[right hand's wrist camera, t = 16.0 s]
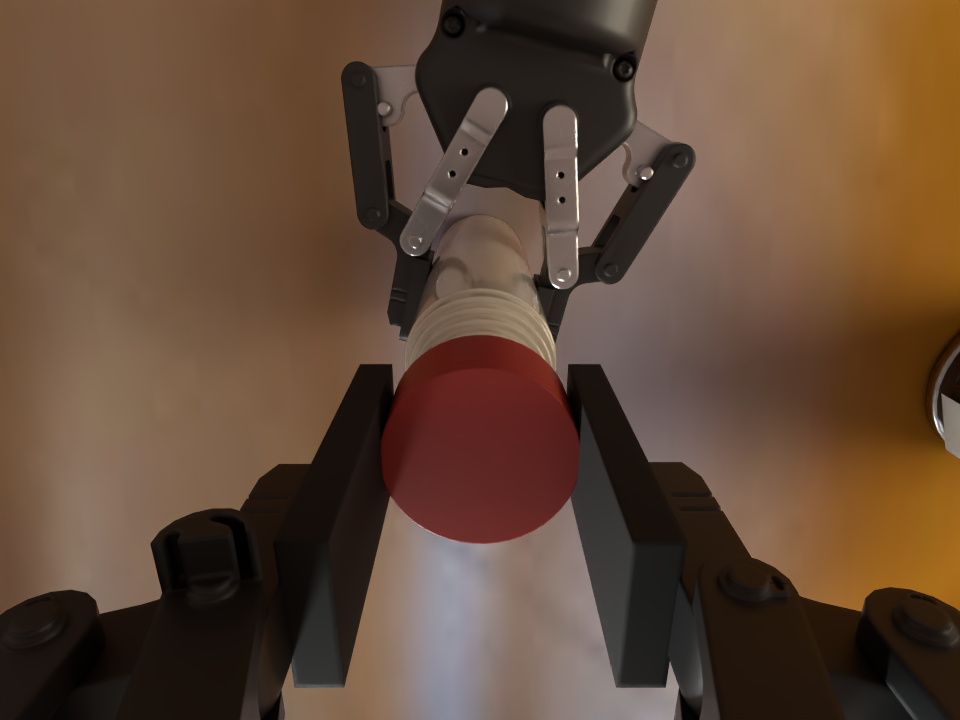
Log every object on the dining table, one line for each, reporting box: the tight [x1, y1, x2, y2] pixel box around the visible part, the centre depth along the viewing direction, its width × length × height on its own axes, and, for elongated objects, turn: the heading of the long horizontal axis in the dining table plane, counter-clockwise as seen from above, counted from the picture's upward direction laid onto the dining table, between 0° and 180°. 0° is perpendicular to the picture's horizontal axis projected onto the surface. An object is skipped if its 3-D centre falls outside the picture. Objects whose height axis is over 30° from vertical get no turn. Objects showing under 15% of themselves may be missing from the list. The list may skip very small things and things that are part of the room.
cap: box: [381, 335, 580, 544], centre depth 14 cm, size 4×4×2 cm
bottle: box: [404, 215, 556, 372], centre depth 22 cm, size 4×4×20 cm
